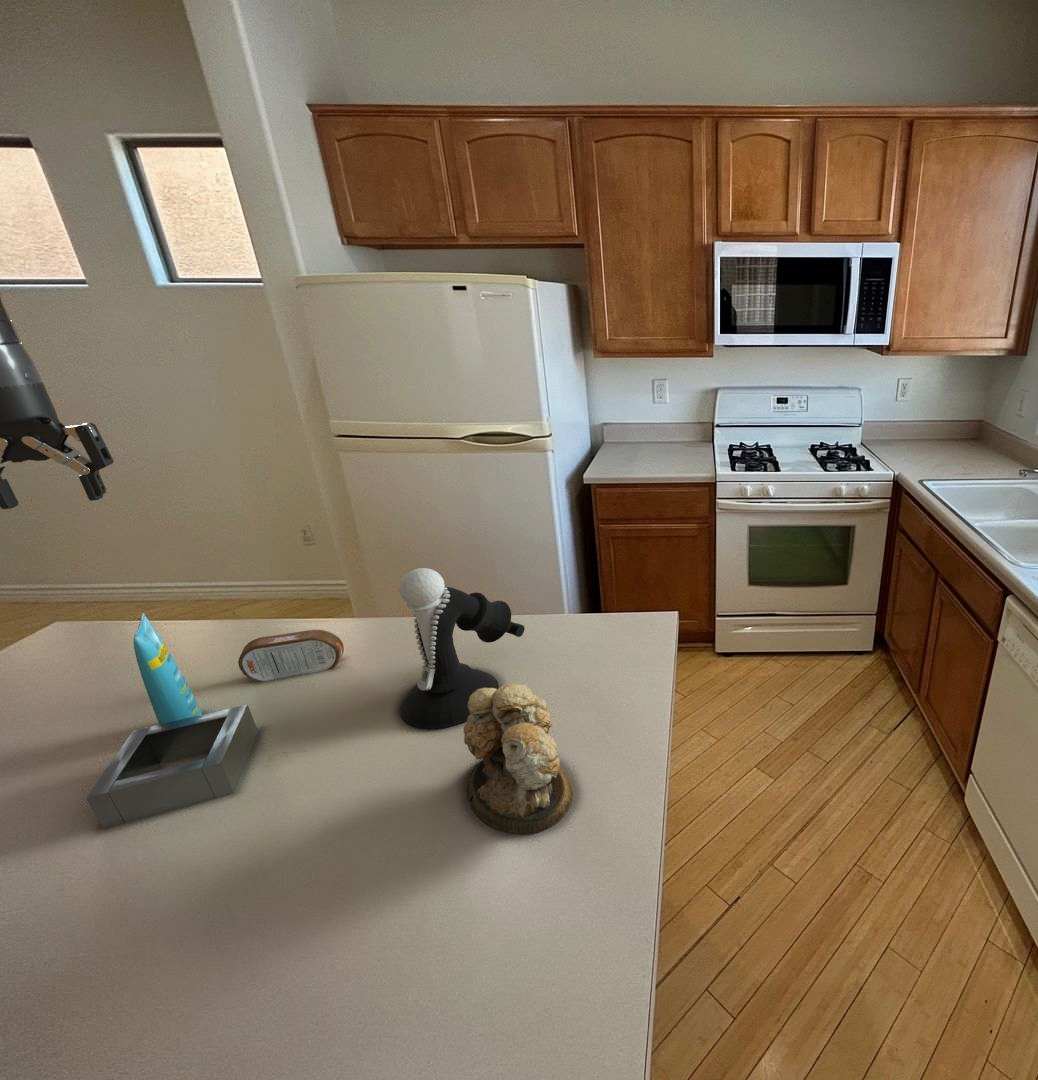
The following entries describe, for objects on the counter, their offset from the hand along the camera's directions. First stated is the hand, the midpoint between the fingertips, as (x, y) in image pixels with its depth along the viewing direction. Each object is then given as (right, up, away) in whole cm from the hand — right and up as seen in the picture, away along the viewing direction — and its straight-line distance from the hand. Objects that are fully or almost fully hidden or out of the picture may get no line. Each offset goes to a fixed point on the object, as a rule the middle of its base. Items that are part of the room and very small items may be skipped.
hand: (54, 503), depth 76 cm
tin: (+16, -30, +23) cm, 41 cm away
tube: (+8, -35, +11) cm, 37 cm away
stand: (+17, -39, +1) cm, 42 cm away
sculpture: (+48, -31, +21) cm, 61 cm away
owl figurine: (+64, -40, 0) cm, 75 cm away
